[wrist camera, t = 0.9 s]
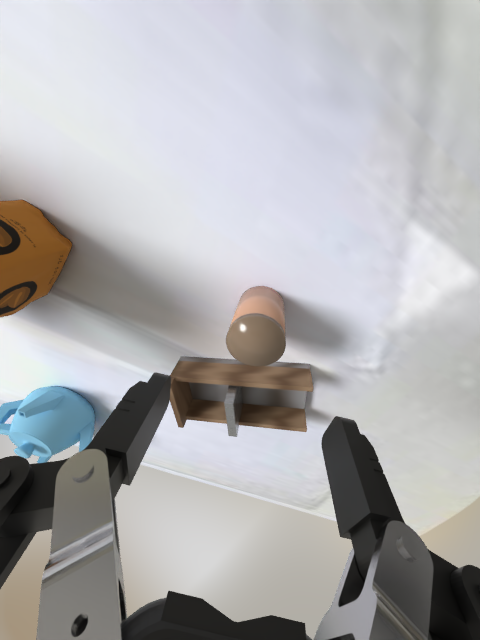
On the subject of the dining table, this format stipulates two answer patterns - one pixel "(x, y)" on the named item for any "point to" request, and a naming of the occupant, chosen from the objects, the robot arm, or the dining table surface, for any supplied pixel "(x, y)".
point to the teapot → (48, 422)
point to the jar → (258, 327)
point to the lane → (257, 392)
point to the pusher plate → (233, 408)
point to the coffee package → (27, 255)
